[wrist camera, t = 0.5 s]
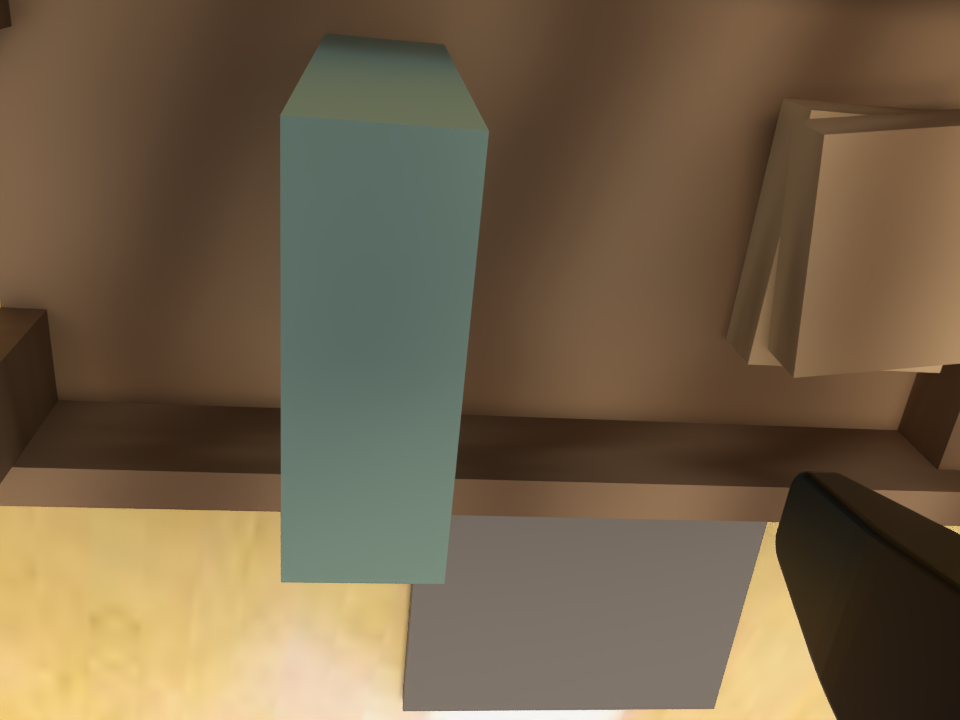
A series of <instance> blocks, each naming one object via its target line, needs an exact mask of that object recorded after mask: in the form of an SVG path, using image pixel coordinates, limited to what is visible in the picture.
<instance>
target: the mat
mask: <svg viewBox="0 0 960 720" xmlns="http://www.w3.org/2000/svg"><path fill="white" fill-rule="evenodd" d="M766 525H767V522H753V521H706V520H658V519H610V518H563V517H515V516H468V515H451V522H450V533H449V543H448V553H447V563H446V573H445V583H444V584H411V596H410V609H409V622H408V634H407V647H406V660H405V673H404V685H403V711H491V710H623V709H714V707H715V703H716V700H717V696H718V693H719V689H720V686H721V682H722V679H723V675H724V672H725V668H726V665H727V661H728V658H729V654H730V651H731V647H732V644H733V640H734V637H735V633H736V630H737V626H738V623H739V619H740V616H741V612H742V609H743V605H744V602H745V598H746V595H747V591H748V588H749V584H750V581H751V577H752V574H753V570H754V567H755V563H756V560H757V556H758V553H759V549H760V546H761V542H762V539H763V535H764V532H765V528H766Z"/></svg>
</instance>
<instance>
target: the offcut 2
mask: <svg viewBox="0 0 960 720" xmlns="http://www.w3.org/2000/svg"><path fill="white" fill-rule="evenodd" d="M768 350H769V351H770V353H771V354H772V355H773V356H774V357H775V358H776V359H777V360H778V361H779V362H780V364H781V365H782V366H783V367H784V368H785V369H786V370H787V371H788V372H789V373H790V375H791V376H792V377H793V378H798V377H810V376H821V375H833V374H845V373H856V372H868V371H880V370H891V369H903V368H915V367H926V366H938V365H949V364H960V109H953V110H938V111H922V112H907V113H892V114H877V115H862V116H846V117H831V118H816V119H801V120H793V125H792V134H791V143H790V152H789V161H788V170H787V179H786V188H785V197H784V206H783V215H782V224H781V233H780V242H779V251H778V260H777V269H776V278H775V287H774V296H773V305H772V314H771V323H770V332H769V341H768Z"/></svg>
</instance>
